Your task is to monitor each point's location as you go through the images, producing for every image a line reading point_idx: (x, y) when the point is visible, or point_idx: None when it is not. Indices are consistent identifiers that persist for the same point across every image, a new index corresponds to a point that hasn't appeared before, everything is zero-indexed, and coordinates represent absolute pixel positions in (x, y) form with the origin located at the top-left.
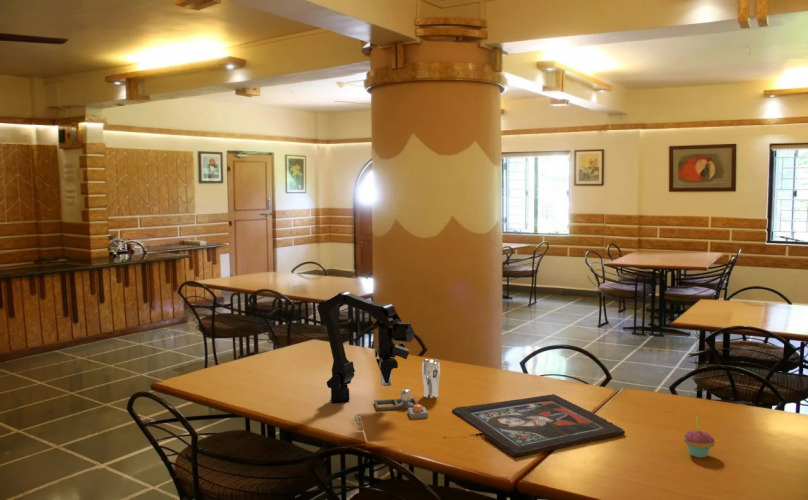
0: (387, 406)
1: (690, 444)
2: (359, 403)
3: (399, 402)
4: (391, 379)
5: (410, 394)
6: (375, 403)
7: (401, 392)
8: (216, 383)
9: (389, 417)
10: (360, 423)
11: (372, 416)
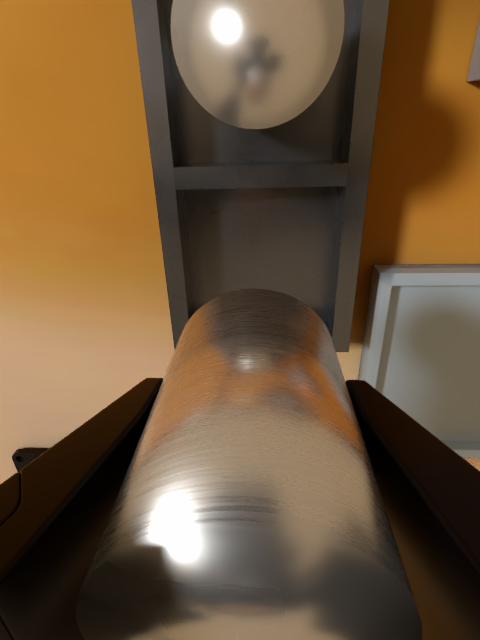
0: (343, 270)
1: None
2: (106, 398)
3: (175, 128)
4: (289, 335)
5: None
6: None
7: (289, 119)
8: None
9: (420, 248)
10: None
11: (360, 353)
